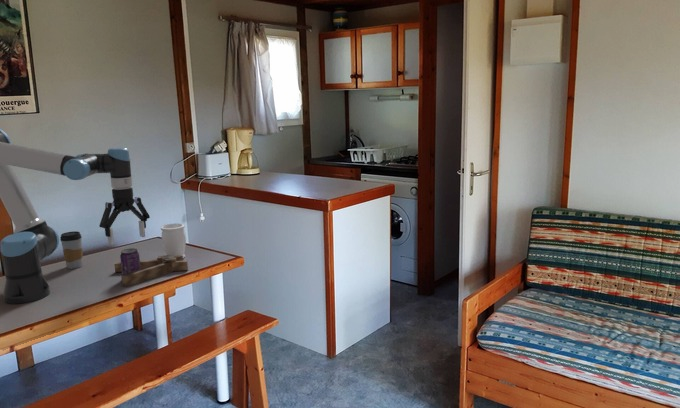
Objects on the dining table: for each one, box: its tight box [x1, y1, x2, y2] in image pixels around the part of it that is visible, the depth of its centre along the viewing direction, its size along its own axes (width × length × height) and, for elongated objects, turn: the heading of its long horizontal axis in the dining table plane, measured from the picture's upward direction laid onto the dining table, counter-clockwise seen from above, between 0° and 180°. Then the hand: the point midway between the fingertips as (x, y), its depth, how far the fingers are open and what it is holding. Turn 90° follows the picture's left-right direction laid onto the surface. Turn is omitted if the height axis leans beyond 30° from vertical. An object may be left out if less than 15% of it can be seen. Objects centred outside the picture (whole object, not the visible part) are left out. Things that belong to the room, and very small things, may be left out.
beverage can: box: [119, 247, 141, 276], centre depth 212 cm, size 7×7×12 cm
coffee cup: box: [59, 230, 84, 270], centre depth 230 cm, size 8×8×15 cm
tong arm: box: [114, 254, 189, 273], centre depth 222 cm, size 30×6×5 cm, turn 98°
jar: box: [160, 222, 187, 259], centre depth 238 cm, size 11×10×15 cm
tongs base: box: [120, 255, 184, 288], centre depth 217 cm, size 30×6×4 cm, turn 143°
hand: (127, 240), depth 210 cm, fingers open, 13 cm apart
